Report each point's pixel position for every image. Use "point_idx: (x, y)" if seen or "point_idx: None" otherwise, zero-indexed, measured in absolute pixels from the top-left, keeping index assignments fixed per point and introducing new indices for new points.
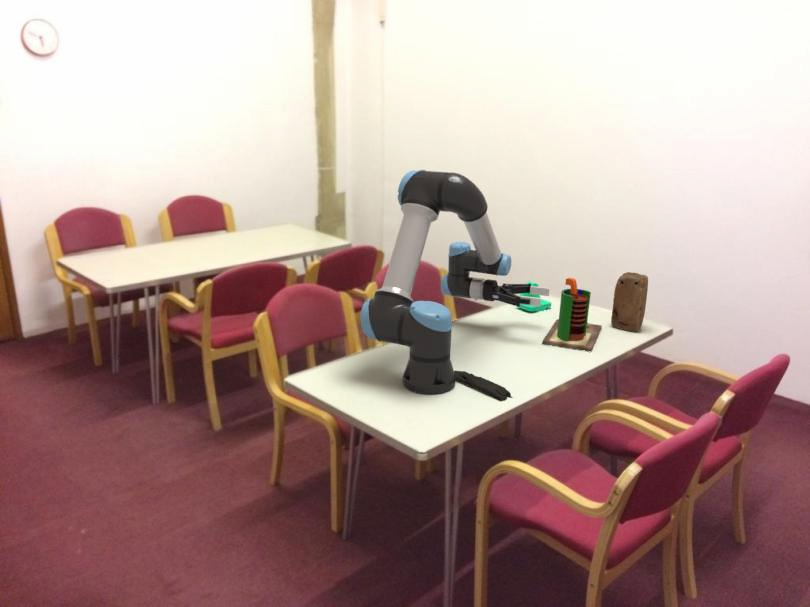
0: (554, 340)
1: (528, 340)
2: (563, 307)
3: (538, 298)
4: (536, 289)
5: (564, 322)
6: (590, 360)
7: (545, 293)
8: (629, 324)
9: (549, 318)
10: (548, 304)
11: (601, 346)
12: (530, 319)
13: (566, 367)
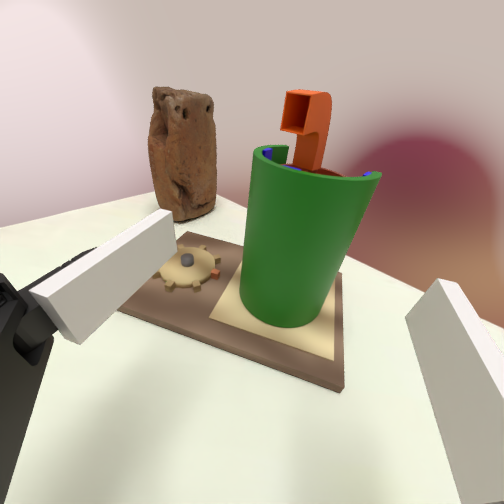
0: (326, 342)
1: (315, 455)
2: (344, 237)
3: (457, 293)
4: (111, 272)
5: (333, 277)
6: (392, 289)
7: (164, 249)
8: (210, 200)
9: None
10: None
11: None
12: None
13: None
